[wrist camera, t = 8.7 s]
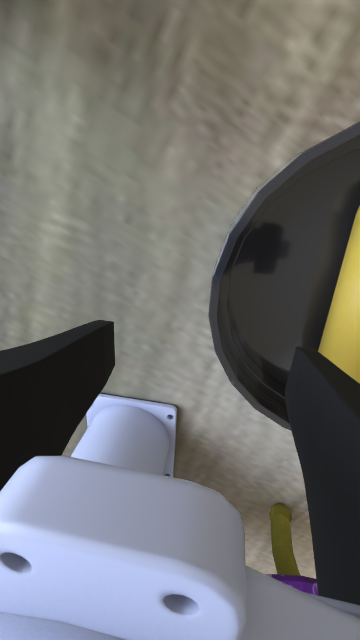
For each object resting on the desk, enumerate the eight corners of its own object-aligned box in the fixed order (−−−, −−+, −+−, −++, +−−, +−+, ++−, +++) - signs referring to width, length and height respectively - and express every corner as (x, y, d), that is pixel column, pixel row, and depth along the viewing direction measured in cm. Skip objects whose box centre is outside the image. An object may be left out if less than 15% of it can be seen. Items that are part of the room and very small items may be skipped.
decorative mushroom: (345, 556, 29) (440, 881, 15) (214, 540, 31) (197, 808, 18) (363, 461, 24) (525, 814, 11) (207, 451, 26) (177, 727, 13)
